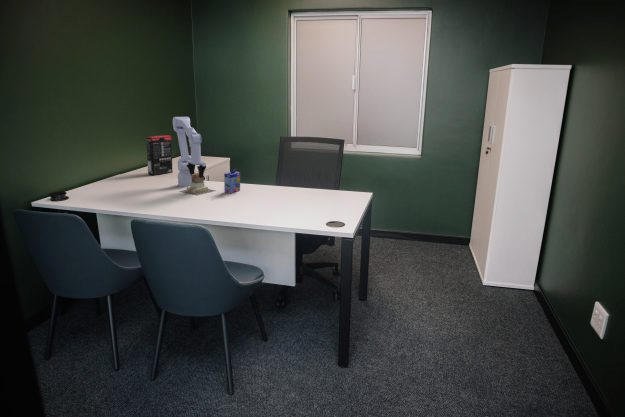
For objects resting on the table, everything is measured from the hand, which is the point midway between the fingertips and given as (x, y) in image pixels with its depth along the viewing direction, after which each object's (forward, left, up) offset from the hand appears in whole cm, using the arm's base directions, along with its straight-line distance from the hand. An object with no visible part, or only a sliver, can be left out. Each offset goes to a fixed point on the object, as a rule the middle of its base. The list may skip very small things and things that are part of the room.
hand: (196, 176), depth 271 cm
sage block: (0, 0, -6) cm, 6 cm away
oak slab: (0, 0, -9) cm, 9 cm away
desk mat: (0, 0, -9) cm, 9 cm away
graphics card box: (-61, +21, -10) cm, 65 cm away
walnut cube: (0, 0, -4) cm, 4 cm away
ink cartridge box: (+17, +13, -10) cm, 23 cm away
